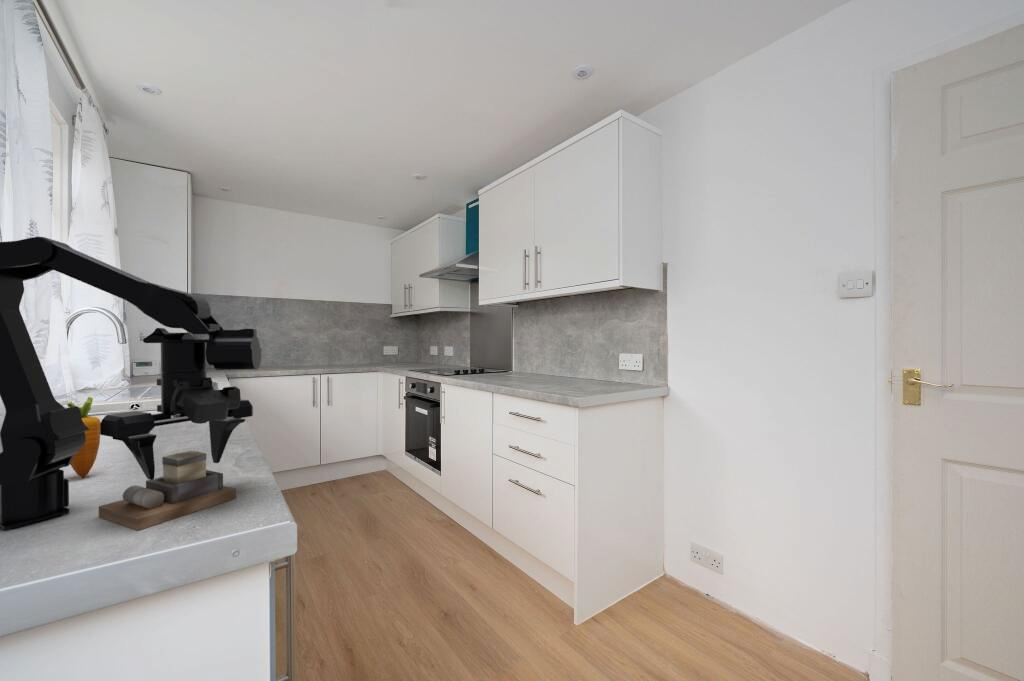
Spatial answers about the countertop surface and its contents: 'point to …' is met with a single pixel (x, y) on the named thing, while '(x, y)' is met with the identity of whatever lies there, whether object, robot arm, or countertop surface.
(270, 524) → the countertop surface
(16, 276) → the robot arm
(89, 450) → the carrot
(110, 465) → the countertop surface
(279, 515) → the countertop surface
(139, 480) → the countertop surface
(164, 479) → the beige banded block
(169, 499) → the base
